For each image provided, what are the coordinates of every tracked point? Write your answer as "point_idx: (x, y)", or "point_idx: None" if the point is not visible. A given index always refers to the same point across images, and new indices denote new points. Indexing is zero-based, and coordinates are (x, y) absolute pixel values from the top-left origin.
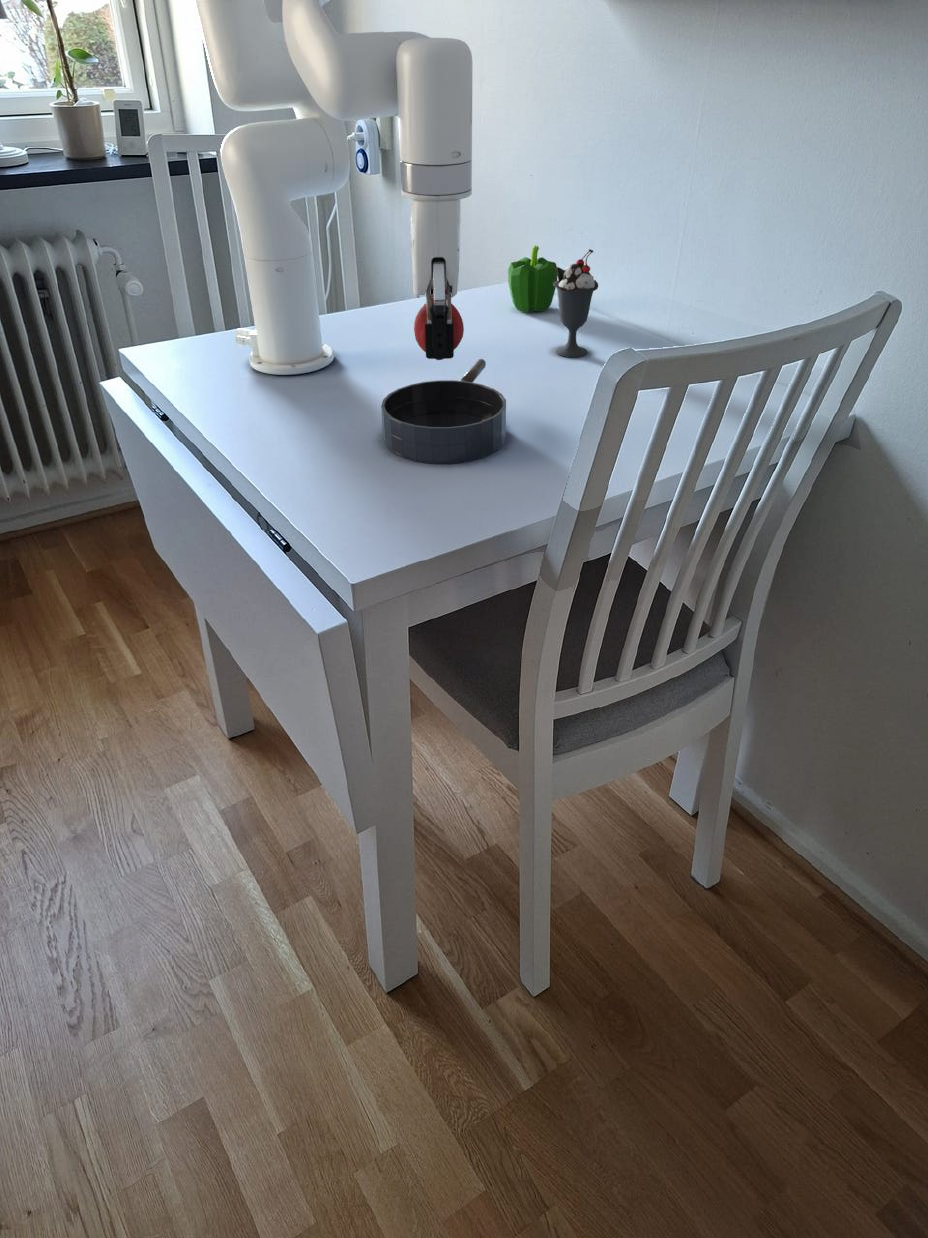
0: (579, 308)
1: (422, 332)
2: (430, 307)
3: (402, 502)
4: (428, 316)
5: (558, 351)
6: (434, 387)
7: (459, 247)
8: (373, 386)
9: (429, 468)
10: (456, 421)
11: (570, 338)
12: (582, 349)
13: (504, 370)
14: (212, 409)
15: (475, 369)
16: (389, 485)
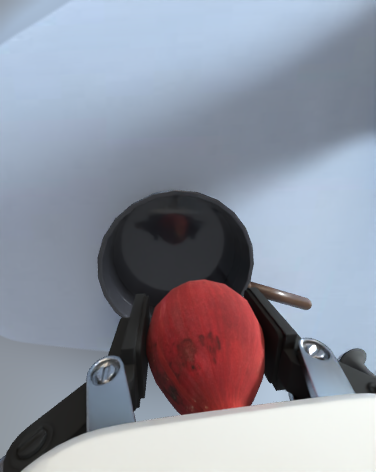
0: None
1: (161, 313)
2: (24, 455)
3: (14, 214)
4: (86, 389)
5: (354, 351)
6: (246, 255)
7: None
8: (325, 173)
9: (100, 240)
10: (209, 266)
11: (364, 371)
12: None
13: (328, 307)
14: None
15: (281, 301)
16: (55, 199)
